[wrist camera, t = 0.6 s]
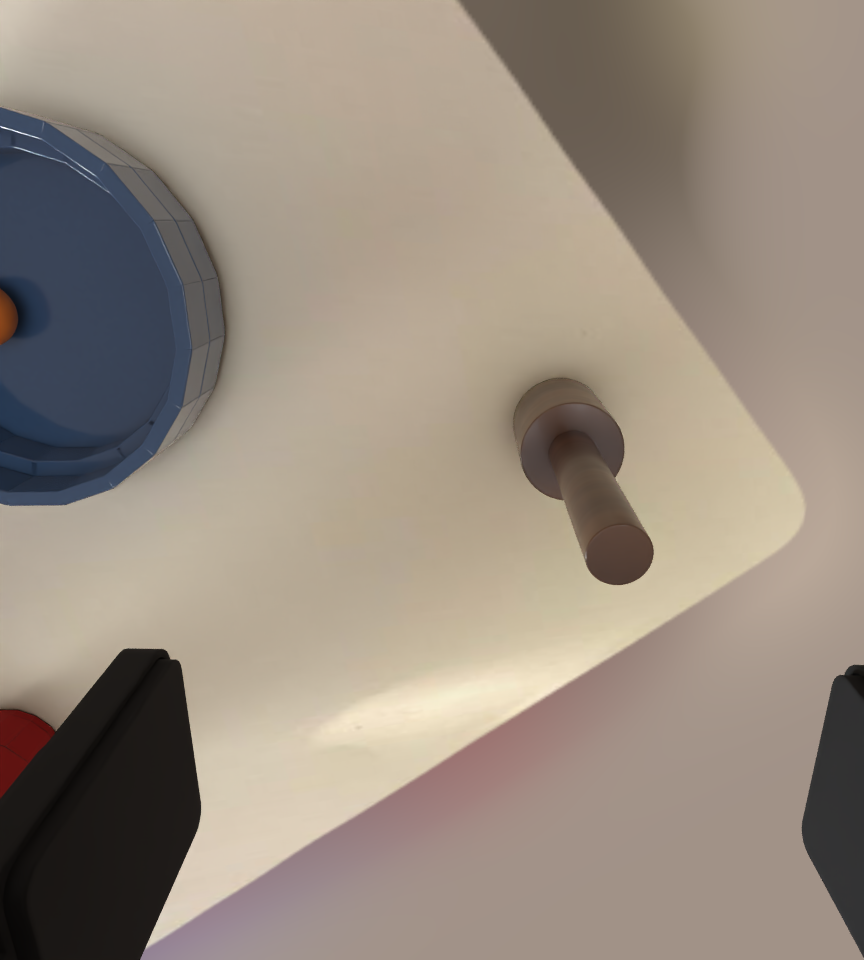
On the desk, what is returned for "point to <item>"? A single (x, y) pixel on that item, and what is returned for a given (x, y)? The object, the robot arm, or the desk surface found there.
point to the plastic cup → (19, 743)
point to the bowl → (95, 314)
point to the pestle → (583, 475)
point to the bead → (7, 317)
